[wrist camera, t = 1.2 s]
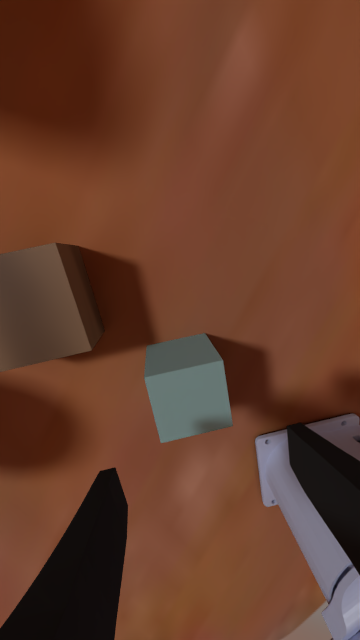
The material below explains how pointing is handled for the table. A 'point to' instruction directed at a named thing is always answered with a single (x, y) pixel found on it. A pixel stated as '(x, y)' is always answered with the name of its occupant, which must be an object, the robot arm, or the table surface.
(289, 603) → the table surface
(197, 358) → the teal block
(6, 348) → the walnut base block
